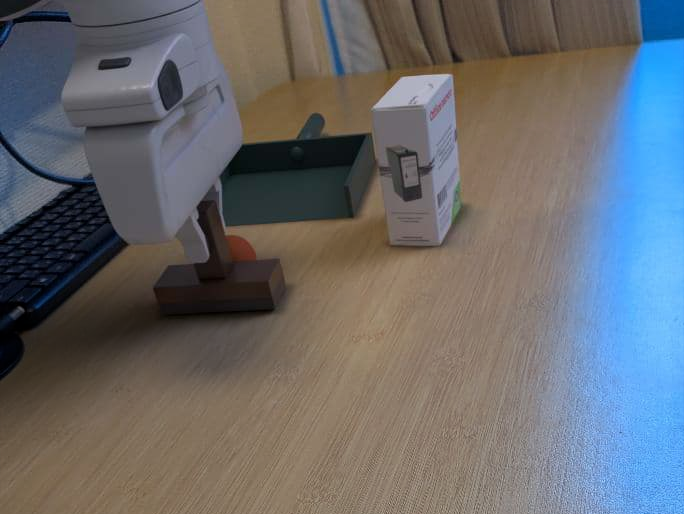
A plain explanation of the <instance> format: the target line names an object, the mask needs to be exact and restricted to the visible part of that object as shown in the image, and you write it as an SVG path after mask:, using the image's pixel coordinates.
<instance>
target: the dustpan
mask: <svg viewBox="0 0 684 514" xmlns="http://www.w3.org/2000/svg"><path fill="white" fill-rule="evenodd" d="M325 126H326V120H325V117H324V115H322V114H321V113H319V112H314V113H313V112H312V114H310V115H309V117H308V119H307V120H306V122H305V123H304V125H303V126H302V127H301V130H300V131H299V133H298V135H297V136H296V138H293V139H292V138H291V139H281V140H270V141H259V142H247V143H243V144H242V146H241V148H240V149H239V150H238V152H237V153H236V154H235V156H234V157H233V158H232V160H231V161H230V162H229V164H228V165H227V166H226V168H225V169H224V170H223V172H222V173H221V174H220V176H219V178H220V181H221V185H222V214H223V218H224V222H225V226H226V227H235V226H236V227H238V226H251V225H253V226H254V225H267V224H283V223H294V222H295V223H296V222H309V221H310V222H311V221H325V220H339V219H353V218H355V216H356V214H357V210H358V208H359V206H360V203H361V201H362V198H363V196H364V193H365V191H366V188H367V187H368V183H369V181H370V179H371V176H372V173H373V171H374V168H375V166H376V162H377V158H376V151H375V145H374V138H373V137H374V136H373V132H362V133H361V132H359V133H349V134H338V135H327V136H321V133H322V132H323V130H324V128H325Z"/></svg>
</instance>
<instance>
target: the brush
mask: <svg viewBox="0 0 684 514" xmlns="http://www.w3.org/2000/svg"><path fill="white" fill-rule="evenodd" d="M196 208H197V211H198V215H199V218H198V219H197V222H198V224H199V226H200V228H201V230H202V232H203V233H208V235H209V238H210V242H211V246H212V249H213V251H212V254H211V255H210V257H209V259H208V260H207V261H206V262H205V263H185V264H184V263H183V264H182V263H181V264H168V265H167V266H166V268H165V269H164V271H163V272H162V273H161V275H160V276H159V278H158V279H157V280H156V282H155V283H154V285H153V286H152V290H153V293H154V296H155V299H156V302H157V305H158V307H159V310H160V312H161V315H162V316H165V315H184V314H185V315H186V314H202V313H203V314H205V313H223V312H225V313H226V312H243V311H265V310H276V308H277V306H278V304H279V302H280V300H281V298H282V296H283V294H284V291H285V290H286V287H287V283H286V279H285V275H284V271H283V266H282V261H281V259H280V258H266V259H257V260H246V261H232V258H231V254H230V251H229V247H228V243H227V240H226V236H227V235H226V233H224V229H223V226H222V222H221V219H220V215H219V211H218V208H217V204H216V201H215V200H208V201H200V203H199V204H198V205H197V207H196Z"/></svg>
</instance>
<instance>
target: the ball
mask: <svg viewBox="0 0 684 514" xmlns="http://www.w3.org/2000/svg"><path fill="white" fill-rule="evenodd" d="M225 236H226V240H227V243H228V247H229V251H230V254H231V258H232V261H246V260H258V259H257V253H256V251H255V249H254V247H253V246H252V244H251V243H250V242H249V241H248V240H247V239H246V238H244V237H242V236H239V235H235V234H228V235H225Z"/></svg>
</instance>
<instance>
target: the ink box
mask: <svg viewBox="0 0 684 514" xmlns="http://www.w3.org/2000/svg"><path fill="white" fill-rule="evenodd" d="M370 114H371V119H372V120H371V121H372V129H373V135H374V136H373V137H374V143H375V149H376V151H375V152H376V159H377V164H378V170H379V171H378V172H379V176H380V177H379V178H380V185H381V193H382V200H383V206H384V207H383V208H384V213H385V220H386V221H385V222H386V229H387V234H388V241H389V246H411V247H413V246H415V247H416V246H417V247H437V246H440V245H441V244H442V242H443V240H444V239H445V238H446V236H447V233H448V232H449V230H450V228H451V227H452V225H453V223H454V221H455V219H456V217H457V215H459V212H460V211H461V209H462V195H461V193H462V192H461V180H460V179H461V178H460V163H459V149H458V135H457V133H458V132H457V120H456V119H457V118H456V104H455V89H454V76H453V74H450V73H440V74H439V73H438V74H423V75H411V76H410V75H409V76H408V75H407V76H401V77H400V78H399V79H398V80H397V81H396V82H395V83H394V85H392V87H390V89H389V90H388V91H387V92H386V93H385V94H384V95H383V96H382V97H381V98H380V99H379V100H378V101H377V103H375V104H374V105H373V106H372V107H371V109H370Z"/></svg>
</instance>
